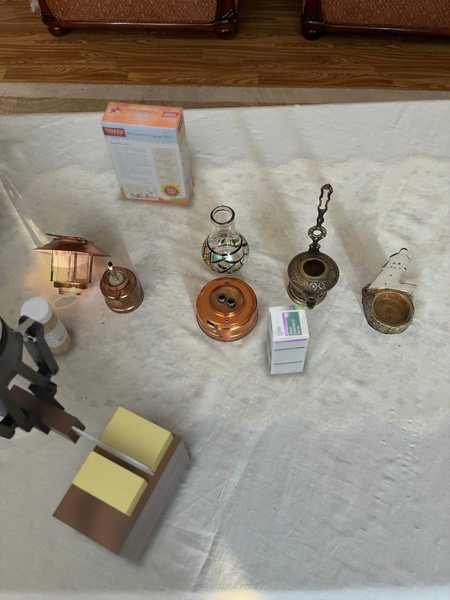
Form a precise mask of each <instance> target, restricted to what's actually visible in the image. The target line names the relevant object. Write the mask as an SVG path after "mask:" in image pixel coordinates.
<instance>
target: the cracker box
mask: <svg viewBox="0 0 450 600" xmlns="http://www.w3.org/2000/svg"><path fill="white" fill-rule="evenodd" d="M100 126H101V130H102V132H103V136H104V139H105V142H106V146H107V150H108V152H109V156H110V159H111V162H112V165H113V169H114V173H115V175H116V179H117V182H118V186H119V189H120V191H121V194H122V198H123V199H126V200H134V201H143V202H149V203H150V202H151V203H152V202H153V203H159V204H168V205H169V204H170V205H178V206H179V205H180V206H188V205H189V203H190V199H191V195H192V193H193V188H194V184H193V183H194V182H193V175H192V168H191V161H190V153H189V147H188V145H189V144H188V139H187V137H188V136H187V130H186V125H185V115H184V109H183V107H175V106H164V105H152V104H151V105H150V104H140V103H139V104H138V103H128V102H127V103H126V102H117V101H108V103H107V105H106V108H105V111H104V113H103V116H102V118H101V120H100Z"/></svg>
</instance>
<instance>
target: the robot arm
mask: <svg viewBox="0 0 450 600" xmlns="http://www.w3.org/2000/svg"><path fill="white" fill-rule="evenodd" d="M17 323H18V326H17V327H15V328H12V327H10V325H8V324H7V322H6V321H5V320H4V319H3V318H2V316H0V417H2V419H1V420H0V438H4V439H6V440H11V439H12V438H13V437H14V436H15V434H16V429H17V428H18V429H20V430H21V431H23V432H25V433H27V434H28V433H31V431H32V430H33V428H34V429H36V430H37V431H39V432H41V433H43V434H45V435H46V436H48V435H49V434H50V432H52V431H51V430H50V429H49V428H48V427H47V426H46V425H44V424H43V423H42V422H41V421H40V420H39V419H38V418H37V417H36V416H34V415H33V414H31V413H30V412H28V411H26V410H24V409H22V408H20V407H19V406H18V405H17V403H16V402H15V400H14V399H13V398H12V393H11V392H10V389H9V385H10V383H11V382H12V381H13V379H14V378H15V377H16V376H20V377H21V378H23V379H24V380H26V381H27V382H30V383H29V385H28V386H27V390H29V392H30V393H32V394H34V395H35V396H37V397H39V398H40V399H42V400H44V401H46V402H48V403H50V404H52V405H54V406H56V407H58V408H59V409H61V410H63V411H65V410H66V408H65V407H64V406H63V405H62V404H61V403H60V402H59V401H58V400H57V399H56V397H55V396H56V395H57V394H58V384H57V383H56V382H54V381H52V377H54V376H55V377H56V375H58V373H59V371H60V366H59V364H58V362H57V360H56V358H55V356H54V353H52V352H51V350H50V348H49V346H48V344H47V342H46V340H45V338H44V324H42V323H40V322H38V321H36V320H34V319H32V318H30V317H28V316H26V315H23V316H21V315H20V317H19V319H18V322H17ZM24 347H25V349H26V350H27V352H28V354H29V356H30V357H31V359H32V361H33V363H34V364H35V366H36V368H37V370H35V369H33V368H32V367H31V366H30V365H28V364H26V362H24V361H23V353H24Z"/></svg>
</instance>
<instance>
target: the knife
mask: <svg viewBox="0 0 450 600" xmlns="http://www.w3.org/2000/svg"><path fill="white" fill-rule="evenodd" d="M9 390H10V392H11V393H12V398H13V399H14V400H15V402H16V403H17V405H18V406H19V407H20V408H22V409H24V410H26V411H28V412H30V413H31V414H33V415H34V416H36V417H37V418H38V419H39V420H40V421H41V422H42V423H43V424H44V425H46V426H47V427H48V428H49V429H50V430H51V431H50V432H53V433H54V434H57V435H58V436H61V437H62V438H64V439H66V440H67V441H69V442H71V443H73V444H77V442H78V441H79V440H80V438H82V439H84V440H86V441H88V442H90V443H91V444H92V445H95V446H96V445H97V446H99V447H101V448H102V449H104V450H106V451H108V452H110V453H112V454H113V455H115V456H117V457H119V458H121V459H122V460H124V461H126V462H128V463H130V464H132V465H133V466H135V467H137V468H139V469H141V470H142V471H144V472H146V473H148V474H150V475H152V476H153V475H154V473H153V472H152V471H151V469H150V468H149V467H147V466H145V465H144V464H142V463H140V462H138V461H136V460H134V459H133V458H131V457H129V456H127V455H125V454H123V453H122V452H120V451H118V450H116V449H114V448H112V447H111V446H109V445H107V444H105V443H103V442H101V441H100V440H99V438H96V437H94V436H93V435H90V434H89V433H87V432H85V430H86V428H87V427H86V425H84V423H83V422H82V421H81V420H80V419H79V418H78V417H76V416H74V415H73V414H70V413H69V412H67V411H65V410H64V411H63V410H61V409H59V408H58V407H56V406H54V405H52V404H50V403H48V402H46V401H44V400H42V399H40V398H39V397H37V396H35V395H34V394H33V393H32V392H31V391H28V390H26V389H25V388H22V387H21V386H18V385H17V384H12V386H11V388H10V389H9Z"/></svg>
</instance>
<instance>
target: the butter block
mask: <svg viewBox="0 0 450 600" xmlns="http://www.w3.org/2000/svg"><path fill="white" fill-rule="evenodd" d="M171 433H172V432H171V431H169V430H167V429H165V428H163V427H161V426H159V425H157V424H156V423H153V422H151V421H150V420H148V419H146V418H144V417H142V416H140V415H138V414H136V413H134V412H133V411H131V410H128V409H126V408H124V407H123V406H121V405H119V406H118V408H117V409H116V411H115V413H114V414H113V415H112V417H111V419H110V420H109V422H108V424H107V425H106V427H105V429H104V430H103V431H102V433H101V434H100V437H99V438H98V440H100V441H101V442H103V443H105V444H107V445H109V446H111V447H112V448H114V449H116V450H118V451H120V452H122V453H123V454H125V455H127V456H129V457H131V458H133V459H134V460H136V461H138V462H140V463H142V464H144V465H145V466H147V467H149V468H150V469H151V471H153V472H155V471H156V469H157V467H158V465H159V464H160V462H161V460H162V458H163V456H164V455H165V453H166V451H167V449H168V447H169V446H170V444H171V442H172V440H173V436H172V434H173V433H172V434H171Z"/></svg>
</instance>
